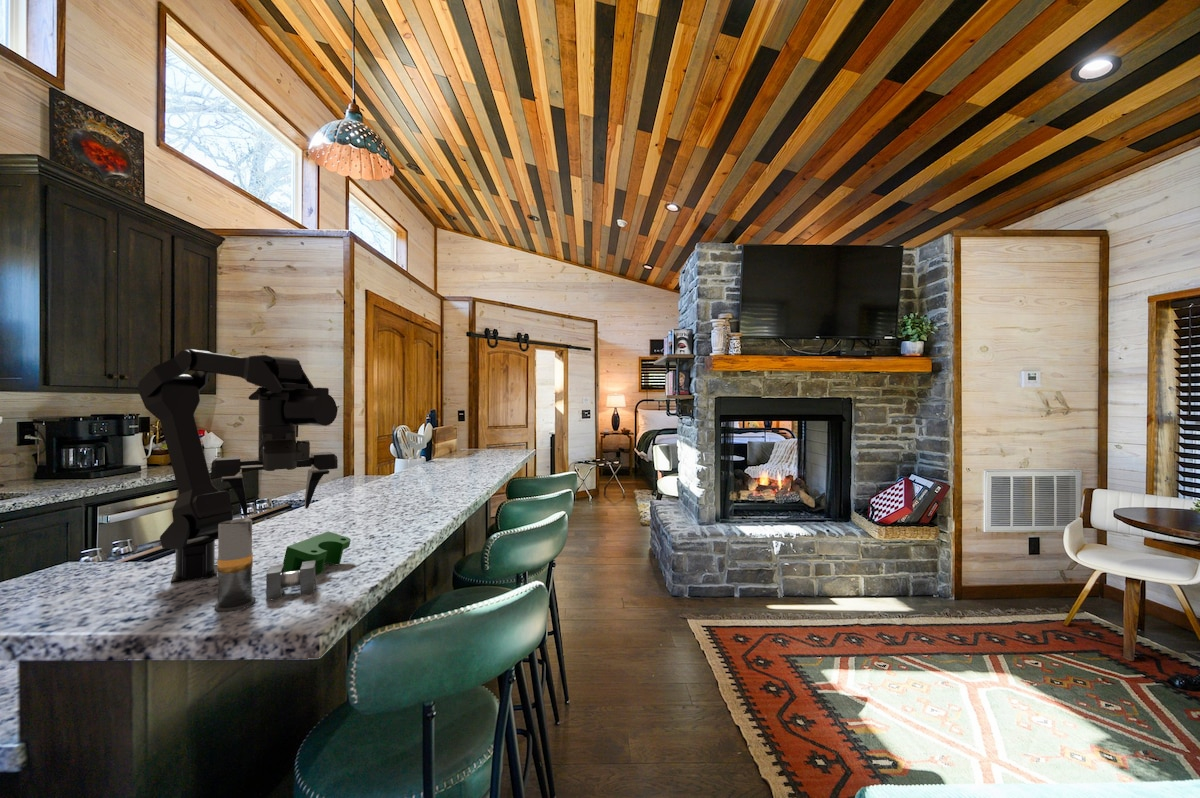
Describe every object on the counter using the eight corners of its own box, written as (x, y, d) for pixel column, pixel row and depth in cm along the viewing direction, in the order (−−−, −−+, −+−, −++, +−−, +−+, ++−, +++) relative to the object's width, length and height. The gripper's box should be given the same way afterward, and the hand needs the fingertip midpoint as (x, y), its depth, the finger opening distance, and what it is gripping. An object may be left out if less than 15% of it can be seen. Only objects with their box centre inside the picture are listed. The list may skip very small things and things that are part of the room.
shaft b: (266, 600, 81) (266, 573, 81) (270, 591, 85) (270, 565, 85) (313, 593, 84) (313, 567, 84) (315, 584, 88) (315, 560, 88)
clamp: (311, 598, 93) (307, 562, 89) (284, 588, 94) (279, 552, 90) (354, 556, 104) (352, 522, 100) (329, 548, 105) (327, 514, 101)
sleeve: (220, 600, 80) (220, 520, 80) (254, 594, 82) (254, 517, 83) (214, 610, 76) (214, 527, 76) (250, 604, 78) (250, 523, 78)
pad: (214, 603, 80) (214, 601, 80) (255, 595, 83) (255, 593, 83) (213, 614, 76) (213, 612, 76) (256, 605, 79) (256, 604, 79)
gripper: (210, 428, 77) (209, 528, 77) (343, 425, 88) (342, 512, 88) (212, 426, 86) (211, 515, 85) (332, 423, 97) (332, 502, 97)
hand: (277, 511), depth 89 cm, fingers open, 9 cm apart
